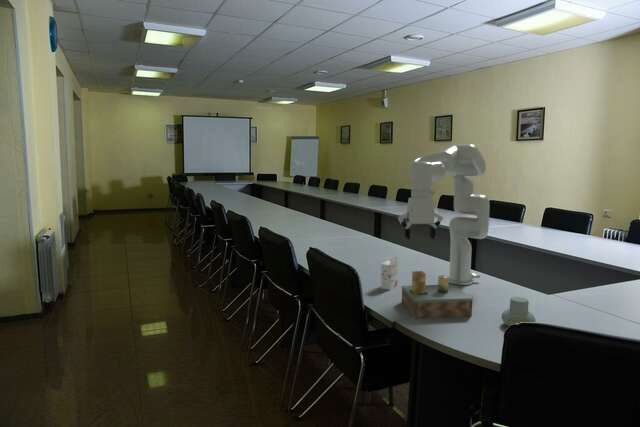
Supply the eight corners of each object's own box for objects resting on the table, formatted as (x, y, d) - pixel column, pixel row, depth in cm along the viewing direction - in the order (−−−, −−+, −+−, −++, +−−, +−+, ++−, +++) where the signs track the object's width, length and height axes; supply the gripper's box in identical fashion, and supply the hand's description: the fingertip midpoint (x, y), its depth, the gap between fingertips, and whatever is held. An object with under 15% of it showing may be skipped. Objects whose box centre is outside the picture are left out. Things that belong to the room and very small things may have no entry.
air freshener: (501, 328, 150) (503, 301, 149) (500, 320, 158) (502, 294, 157) (536, 333, 147) (538, 305, 145) (533, 324, 154) (535, 297, 153)
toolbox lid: (453, 286, 179) (454, 270, 178) (472, 300, 161) (473, 282, 160) (401, 288, 177) (402, 271, 176) (415, 302, 159) (416, 284, 158)
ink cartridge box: (387, 283, 204) (388, 253, 202) (397, 285, 201) (398, 254, 199) (380, 288, 196) (380, 257, 194) (390, 290, 194) (391, 258, 192)
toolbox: (452, 300, 180) (453, 286, 179) (471, 316, 162) (472, 300, 161) (401, 302, 178) (401, 288, 177) (415, 318, 160) (415, 302, 159)
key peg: (421, 307, 172) (422, 271, 170) (424, 311, 168) (425, 273, 166) (411, 307, 171) (412, 271, 169) (414, 311, 167) (415, 274, 165)
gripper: (439, 193, 168) (438, 236, 170) (396, 193, 167) (395, 237, 169) (446, 195, 161) (445, 239, 163) (401, 195, 159) (400, 240, 161)
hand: (419, 238), depth 166 cm, fingers open, 9 cm apart
